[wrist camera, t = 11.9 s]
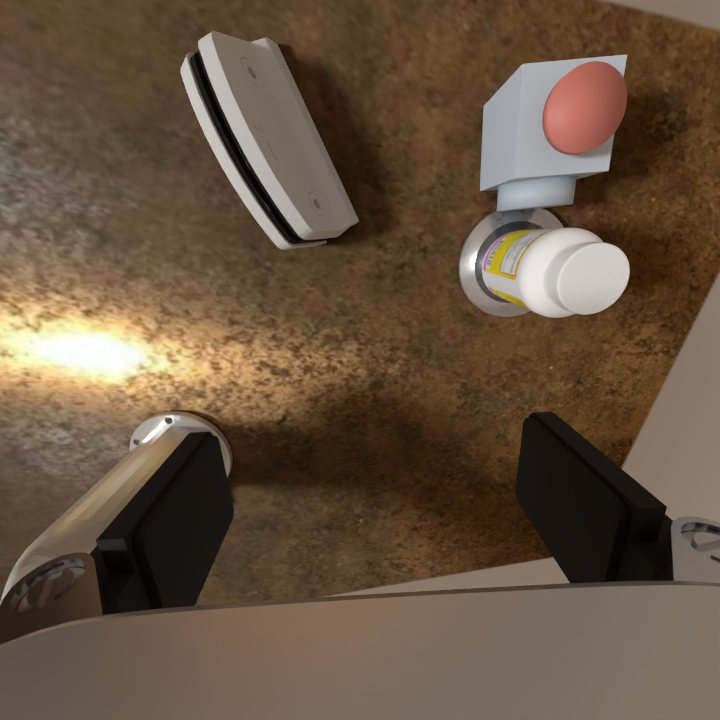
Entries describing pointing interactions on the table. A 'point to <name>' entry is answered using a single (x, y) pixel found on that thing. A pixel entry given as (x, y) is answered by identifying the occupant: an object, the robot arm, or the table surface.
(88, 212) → the table surface
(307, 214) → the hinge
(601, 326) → the table surface
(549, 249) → the supplement bottle
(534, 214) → the gray metal plate
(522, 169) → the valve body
